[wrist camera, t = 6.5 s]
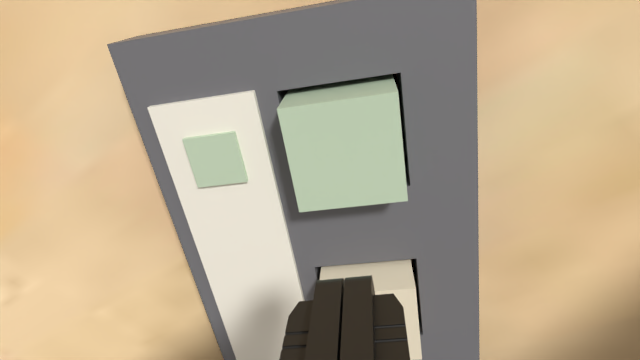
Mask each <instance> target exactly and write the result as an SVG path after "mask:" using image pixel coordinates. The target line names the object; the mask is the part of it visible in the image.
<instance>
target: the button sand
mask: <svg viewBox="0 0 640 360" xmlns="http://www.w3.org/2000/svg"><path fill="white" fill-rule="evenodd" d="M370 275H372V278H373V284H374V290H375V295H380V294H392V293H394V295H395V296H396V298H397V299H398V300H399V302H400V303H401V305H402V306H403V308H404V316H405V323H406V331H407V338H408V346H409V354H410V360H422V352H421V341H420V330H419V319H418V307H417V296H416V287H415V281H414V275H413V270H412V264H411V259H405V260H394V261H382V262H370V263H358V264H346V265H334V266H322V267H321V272H320V280H327V279H338V278H344V280H345V278H348V277H359V276H370Z"/></svg>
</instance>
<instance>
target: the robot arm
mask: <svg viewBox="0 0 640 360" xmlns="http://www.w3.org/2000/svg"><path fill="white" fill-rule="evenodd" d="M279 360H410V354H409V346H408V338H407V331H406V323H405V316H404V308H403V306H402V305H401V303H400V302H399V300H398V299H397V298H396V296H395V295H394V293H392V294H380V295H375V290H374V284H373V278H372V275H370V276H359V277H348V278H345V280H344V278H338V279H327V280H317V281H316V285H315V291H314V298H313V300H310V301H299V302H298V304H297V305H296V306H295V308H294V309H293V311H292V312H291V313H290V315H289V316H288V321H287V326H286V331H285V336H284V340H283V345H282V350H281V354H280V359H279Z"/></svg>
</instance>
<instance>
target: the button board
mask: <svg viewBox="0 0 640 360" xmlns="http://www.w3.org/2000/svg"><path fill="white" fill-rule="evenodd" d="M107 46H108V48H109V51H110V54H111V56H112V59H113V62H114V65H115V67H116V70H117V73H118V75H119V78H120V81H121V83H122V86H123V89H124V91H125V94H126V97H127V100H128V102H129V105H130V108H131V110H132V113H133V116H134V118H135V121H136V124H137V127H138V129H139V132H140V135H141V137H142V140H143V143H144V145H145V148H146V151H147V153H148V156H149V159H150V162H151V164H152V167H153V170H154V172H155V175H156V178H157V180H158V183H159V186H160V188H161V191H162V194H163V197H164V199H165V202H166V205H167V207H168V210H169V213H170V215H171V218H172V221H173V224H174V226H175V229H176V232H177V234H178V237H179V240H180V242H181V245H182V248H183V250H184V253H185V256H186V259H187V261H188V264H189V267H190V269H191V272H192V275H193V277H194V280H195V283H196V286H197V288H198V291H199V294H200V296H201V299H202V302H203V304H204V307H205V310H206V312H207V315H208V318H209V321H210V323H211V326H212V329H213V331H214V334H215V337H216V339H217V342H218V345H219V347H220V350H221V353H222V356H223V358H224V360H279V359H280V354H281V350H282V345H283V340H284V336H285V331H286V326H287V321H288V316H289V315H290V313H291V312H292V311H293V309H294V308H295V306H296V305H297V304H298V302H299V301H310V300H313V298H314V291H315V285H316V281H317V280H320V272H321V267H322V266H334V265H346V264H358V263H370V262H382V261H394V260H405V259H413V262H414V273H415V284H416V295H417V307H418V319H419V330H420V341H421V352H422V360H479V259H478V135H477V10H476V0H336V1H330V2H325V3H319V4H314V5H308V6H302V7H297V8H291V9H286V10H280V11H275V12H269V13H263V14H258V15H252V16H247V17H241V18H236V19H230V20H224V21H219V22H213V23H208V24H202V25H197V26H191V27H185V28H180V29H174V30H169V31H163V32H157V33H152V34H146V35H141V36H136V37H133V38H129V39H125V40H122V41H118V42H114V43H111V44H107ZM394 73H397V82H398V94H399V105H400V116H401V127H402V138H403V150H404V161H405V173H406V184H407V195H408V201H404V202H394V203H385V204H375V205H366V206H356V207H346V208H337V209H327V210H318V211H308V212H299V209H298V204H297V200H296V195H295V191H294V186H293V181H292V177H291V172H290V168H289V163H288V159H287V154H286V149H285V145H284V140H283V136H282V131H281V126H280V122H279V117H278V113H277V108H278V106H279V105H280V103H281V101H282V100H283V98H284V97H285V95H286V93H287V92H288V90H289V89H294V88H301V87H308V86H314V85H321V84H328V83H334V82H341V81H348V80H354V79H361V78H368V77H374V76H381V75H388V74H394Z"/></svg>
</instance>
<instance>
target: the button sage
mask: <svg viewBox="0 0 640 360" xmlns="http://www.w3.org/2000/svg"><path fill="white" fill-rule="evenodd" d="M277 113H278V117H279V122H280V126H281V131H282V136H283V140H284V145H285V149H286V154H287V159H288V163H289V168H290V172H291V177H292V181H293V186H294V191H295V195H296V200H297V204H298V209H299V212H308V211H318V210H327V209H337V208H346V207H356V206H366V205H375V204H385V203H394V202H404V201H408V195H407V184H406V173H405V162H404V151H403V139H402V128H401V117H400V106H399V95H398V89H397V86H396V83H395V80H394V77H393V74H388V75H381V76H374V77H368V78H361V79H354V80H348V81H341V82H334V83H328V84H321V85H314V86H308V87H301V88H294V89H289V90H288V92H287V93H286V95H285V97H284V98H283V100H282V101H281V103H280V105H279V106H278V108H277Z"/></svg>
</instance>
